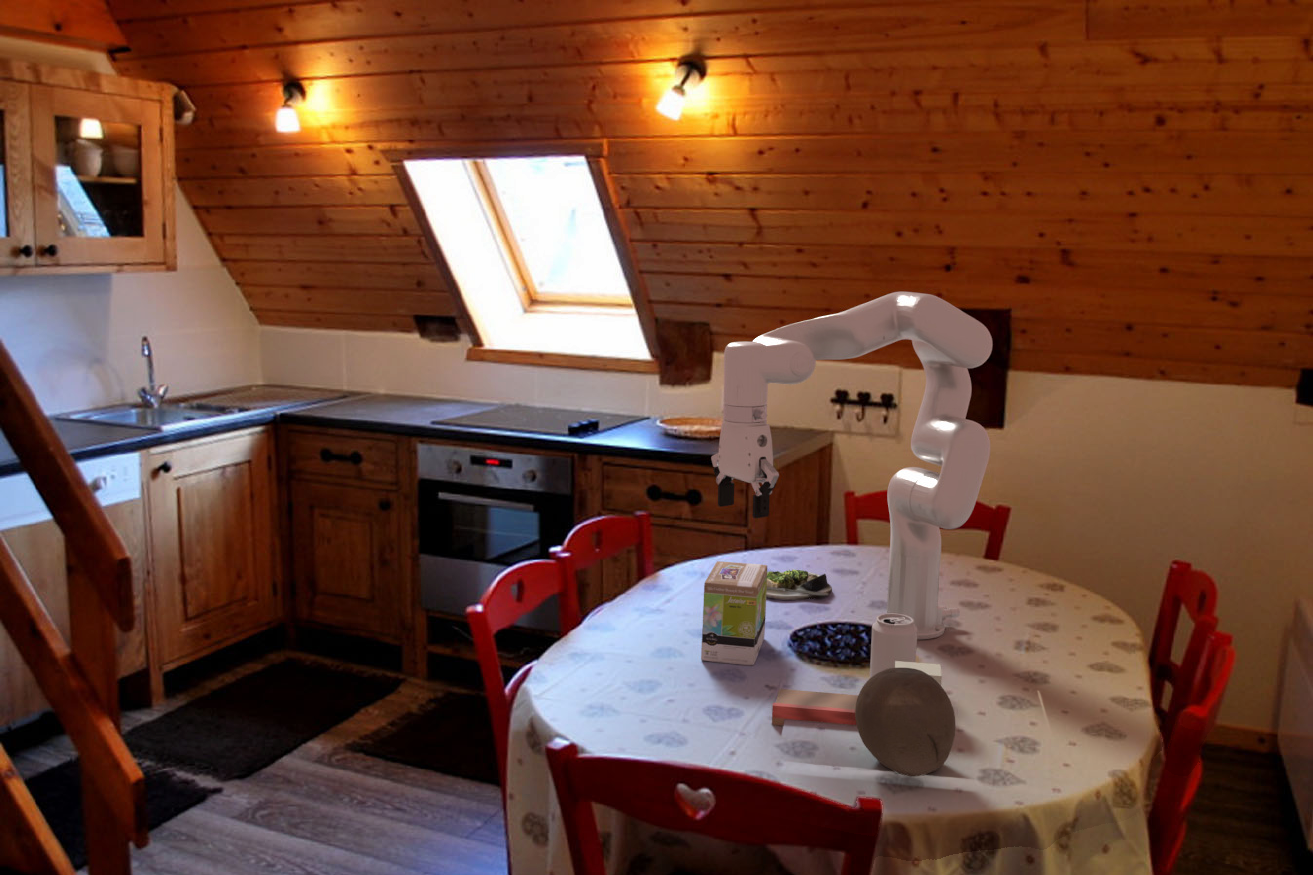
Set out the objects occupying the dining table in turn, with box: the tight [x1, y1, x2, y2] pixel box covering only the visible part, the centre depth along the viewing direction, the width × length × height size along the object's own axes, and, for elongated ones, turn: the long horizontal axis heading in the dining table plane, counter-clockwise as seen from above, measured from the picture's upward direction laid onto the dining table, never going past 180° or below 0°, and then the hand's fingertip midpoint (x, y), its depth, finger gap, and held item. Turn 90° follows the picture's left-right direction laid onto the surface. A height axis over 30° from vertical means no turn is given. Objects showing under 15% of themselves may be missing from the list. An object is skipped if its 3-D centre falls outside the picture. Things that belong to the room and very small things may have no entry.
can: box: [869, 612, 918, 679], centre depth 206 cm, size 8×8×12 cm
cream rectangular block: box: [895, 661, 943, 686], centre depth 191 cm, size 7×5×8 cm
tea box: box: [700, 560, 768, 666], centre depth 222 cm, size 15×10×15 cm, turn 168°
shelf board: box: [771, 688, 859, 727], centre depth 194 cm, size 26×12×3 cm, turn 79°
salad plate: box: [766, 569, 833, 601], centre depth 259 cm, size 19×18×5 cm
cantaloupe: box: [855, 668, 956, 778], centre depth 174 cm, size 14×14×15 cm
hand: (743, 511), depth 212 cm, fingers open, 9 cm apart
